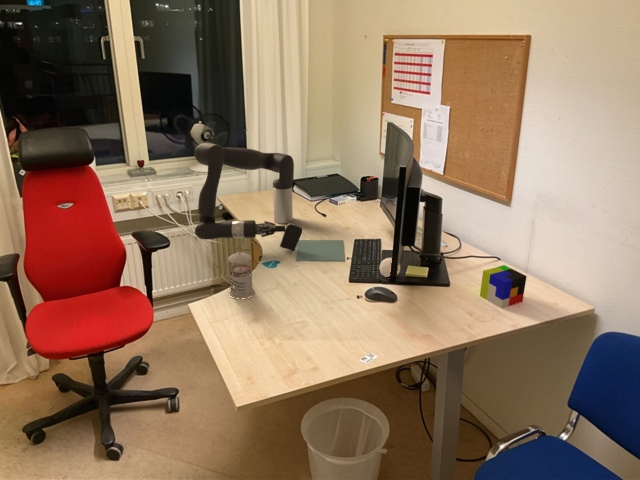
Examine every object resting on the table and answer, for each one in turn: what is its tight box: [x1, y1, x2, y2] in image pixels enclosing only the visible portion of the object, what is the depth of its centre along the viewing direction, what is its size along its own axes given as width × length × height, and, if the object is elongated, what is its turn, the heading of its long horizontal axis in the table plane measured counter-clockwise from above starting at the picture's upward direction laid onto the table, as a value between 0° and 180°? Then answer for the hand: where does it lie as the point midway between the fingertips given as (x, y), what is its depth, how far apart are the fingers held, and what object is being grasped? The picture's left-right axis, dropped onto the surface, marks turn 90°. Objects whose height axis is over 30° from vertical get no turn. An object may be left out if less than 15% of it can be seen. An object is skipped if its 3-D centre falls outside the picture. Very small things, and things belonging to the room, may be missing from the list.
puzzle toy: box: [479, 264, 527, 309], centre depth 177 cm, size 10×10×10 cm
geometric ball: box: [378, 257, 401, 278], centre depth 193 cm, size 8×8×8 cm
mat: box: [295, 239, 345, 262], centre depth 218 cm, size 22×20×1 cm
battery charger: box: [279, 221, 303, 252], centre depth 215 cm, size 7×4×11 cm, turn 96°
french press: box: [223, 228, 256, 299], centre depth 178 cm, size 10×12×25 cm
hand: (285, 228), depth 214 cm, fingers closed
